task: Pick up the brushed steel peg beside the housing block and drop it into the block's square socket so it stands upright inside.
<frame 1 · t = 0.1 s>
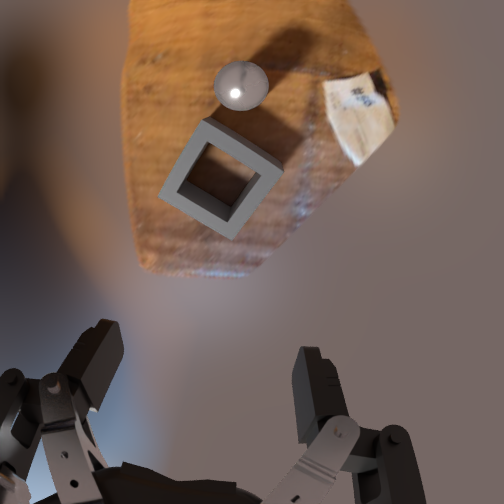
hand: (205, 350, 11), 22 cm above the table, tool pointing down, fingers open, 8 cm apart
peg: (246, 88, 24), on the table
housing: (222, 172, 29), on the table
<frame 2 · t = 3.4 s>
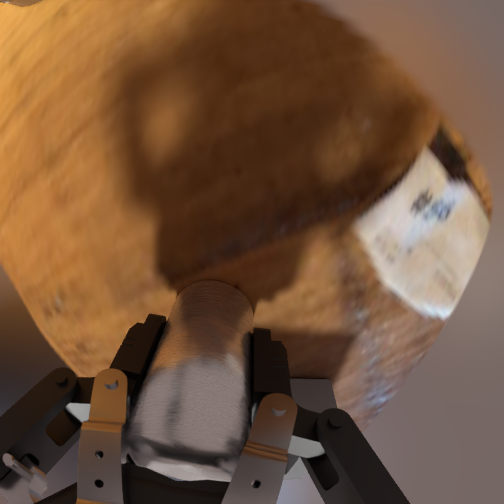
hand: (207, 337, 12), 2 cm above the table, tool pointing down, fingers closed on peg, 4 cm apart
peg: (213, 314, 14), on the table, touching gripper
housing: (251, 413, 17), on the table
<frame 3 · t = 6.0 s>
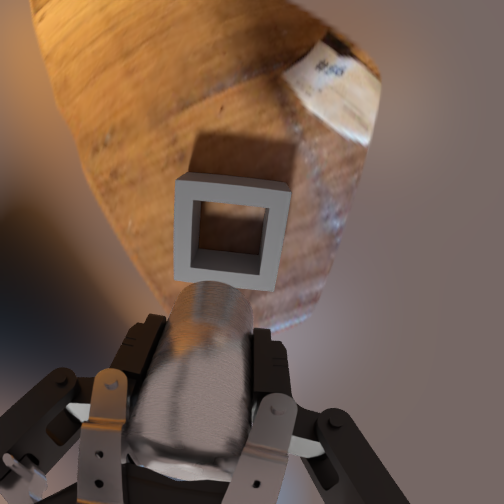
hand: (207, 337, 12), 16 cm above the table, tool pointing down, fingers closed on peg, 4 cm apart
peg: (213, 314, 14), point 14 cm above the table, touching gripper
housing: (231, 223, 26), on the table
when the fingers open (5 cm above the table, at t = 8.8 s): peg drops 3 cm, resting in housing.
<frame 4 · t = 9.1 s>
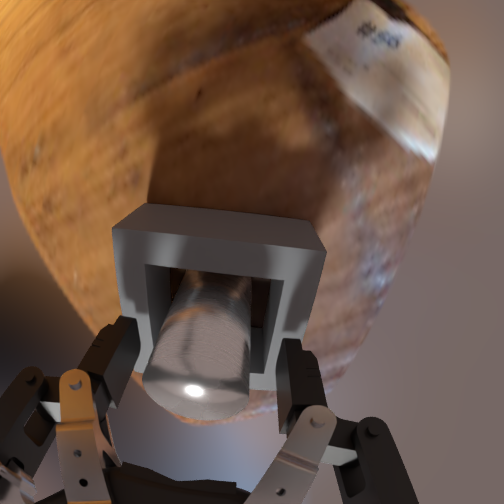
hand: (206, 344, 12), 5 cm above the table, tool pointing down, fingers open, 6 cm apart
peg: (217, 283, 16), resting in housing
housing: (219, 284, 16), on the table
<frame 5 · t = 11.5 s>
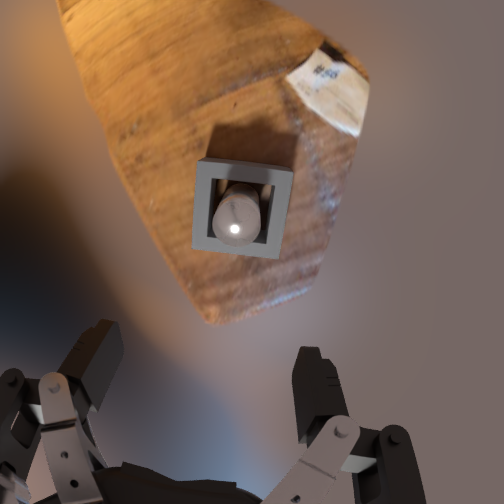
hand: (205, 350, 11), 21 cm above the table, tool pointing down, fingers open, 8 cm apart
peg: (240, 201, 30), resting in housing
housing: (241, 201, 30), on the table
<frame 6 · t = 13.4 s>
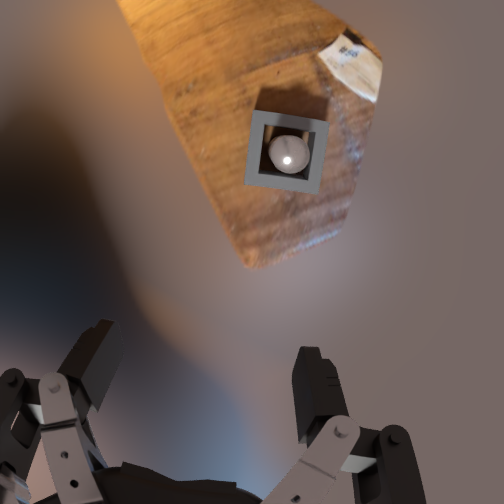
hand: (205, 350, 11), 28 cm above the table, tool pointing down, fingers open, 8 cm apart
peg: (283, 149, 34), resting in housing
housing: (283, 150, 34), on the table
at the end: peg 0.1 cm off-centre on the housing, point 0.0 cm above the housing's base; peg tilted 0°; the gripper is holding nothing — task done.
